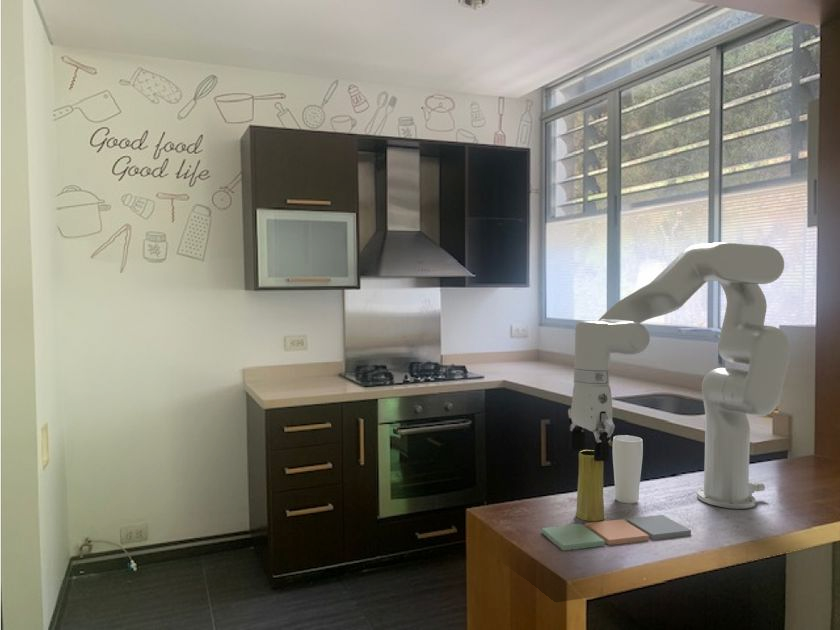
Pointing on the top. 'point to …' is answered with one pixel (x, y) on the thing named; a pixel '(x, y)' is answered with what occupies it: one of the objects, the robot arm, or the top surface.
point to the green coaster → (573, 537)
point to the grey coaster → (659, 527)
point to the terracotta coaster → (617, 532)
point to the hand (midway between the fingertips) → (588, 454)
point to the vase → (590, 488)
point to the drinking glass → (627, 467)
